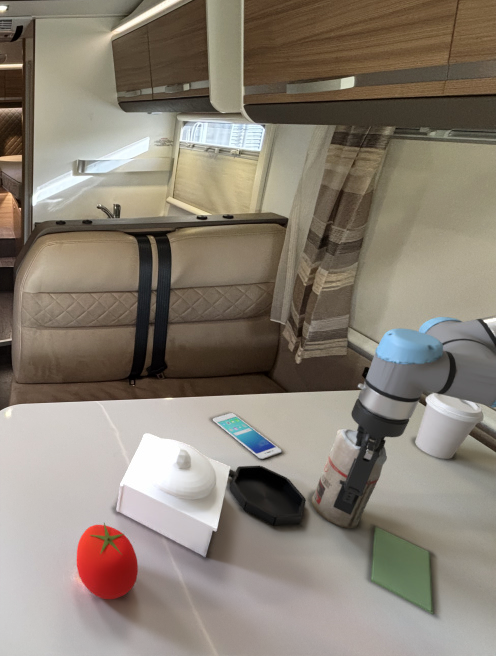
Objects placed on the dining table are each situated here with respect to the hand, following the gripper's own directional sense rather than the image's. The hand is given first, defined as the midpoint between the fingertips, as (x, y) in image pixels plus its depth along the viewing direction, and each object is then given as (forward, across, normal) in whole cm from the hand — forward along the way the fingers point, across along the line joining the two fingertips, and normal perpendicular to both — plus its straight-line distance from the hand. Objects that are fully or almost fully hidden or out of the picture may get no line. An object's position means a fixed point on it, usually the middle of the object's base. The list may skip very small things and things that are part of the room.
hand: (344, 495), depth 88 cm
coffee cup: (+6, -38, +15) cm, 41 cm away
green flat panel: (+5, +6, +10) cm, 13 cm away
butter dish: (+6, +21, -27) cm, 35 cm away
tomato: (+5, +45, -30) cm, 54 cm away
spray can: (+5, 0, 0) cm, 6 cm away
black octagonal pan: (+6, +6, -16) cm, 18 cm away
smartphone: (+6, -12, -20) cm, 24 cm away
